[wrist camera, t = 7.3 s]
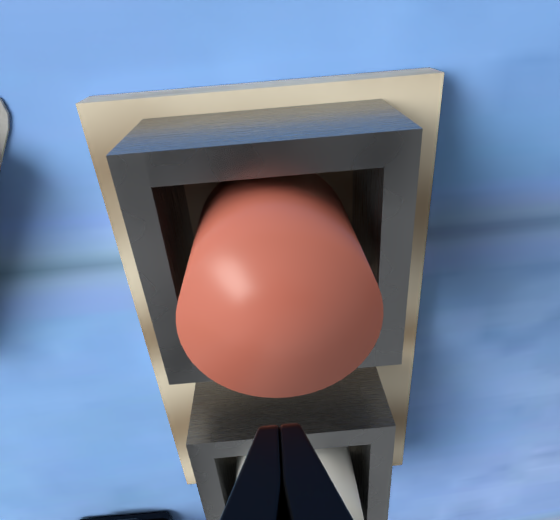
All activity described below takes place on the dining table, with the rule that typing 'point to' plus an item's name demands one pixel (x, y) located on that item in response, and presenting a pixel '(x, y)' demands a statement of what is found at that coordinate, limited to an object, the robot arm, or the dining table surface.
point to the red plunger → (277, 289)
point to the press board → (307, 91)
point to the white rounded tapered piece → (335, 476)
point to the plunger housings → (366, 224)
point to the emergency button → (3, 128)
